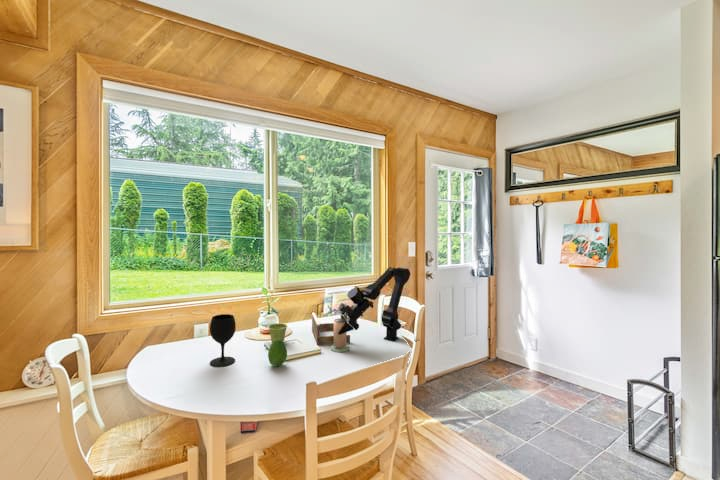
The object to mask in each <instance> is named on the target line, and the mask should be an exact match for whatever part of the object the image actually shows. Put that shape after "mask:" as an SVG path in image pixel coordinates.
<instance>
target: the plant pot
mask: <svg viewBox="0 0 720 480" xmlns="http://www.w3.org/2000/svg"><path fill="white" fill-rule="evenodd" d="M287 328H288V324H285V323H273V324H269V325H268V329H269V333H270V340H271V343H272V342H273V341H274V339H276V338H279V339H281V340H282V341H284V342H285V337H286V331H287Z"/></svg>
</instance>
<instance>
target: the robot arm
mask: <svg viewBox="0 0 720 480" xmlns="http://www.w3.org/2000/svg"><path fill="white" fill-rule="evenodd" d="M410 277H411V271H410V269H409V268H406V267H397V268H396V267H392V266H391V267H390V266H389V267H387V268H386V270H385V271H384V273H382V274H381V275H380V276H379V277H378V278H377V279H376V280H375V281H374V282H373V283H371V284H368V285H367V286H365V287H364V288H363V289H360V288H359V287H358V286H354V287H353V288H352V289H350V290H349V291H347V298H348V299H349V301H351V302H352V303H353V304H354V305H353V304H352V305H351V306H350V305H348V304H345V303H342V302H341V303H340V304H339V307H338V308H337V309H338V310H339V311H340V319H346V320H345V323H344V325H343V327H342V328H341V329H340V331H339V332H338V334H339V335H340V334H343V333H345V332H350V331H354V330H355V331H357V330H359V328H360V324H359V322H358V320H359V318H360V317H361V318H362V317H363V316H364V315H363V314H364V313H365V312H366V311H367V310H368V309H369V308H371V309H374V302H373V301H376V300H377V299H378V297H379V296H380V294H381V290H382V289H383V288H384V287H385V286H386V285H387V284H388V283H389V282H390V281H391V280H392V278H393V279H394V285H393V289H392V293H391V297H390V299H389V304H388V307H387V308H386V310H385V309H384V310H382V315H381V317H380V318H381V322H382V326H383V327H385V328H386V331H385V333H386V336H385V337H383V340H387V341H392V342H396V341H397V340H399V339H400V337H399V336H398V331H399V330H400V329H401V327H402V324H401V322H399V314H398V308H399V305H400V301H401V298H402V293H403V290H404V286H405V285H406V284H407V283H408V281H409V279H410ZM370 300H372V301H370Z"/></svg>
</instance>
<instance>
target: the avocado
mask: <svg viewBox="0 0 720 480" xmlns="http://www.w3.org/2000/svg"><path fill="white" fill-rule="evenodd" d="M284 342H285V341H284ZM284 342H283V341H282V340H281V339H279V338H276V339H274V341H273V342H271V345H269V349H268V352H267V353H268V354H267V358H268V360H269V363H270V364H271V365H272V366H274V367H279V366H282V365H283V364H284V363H285V362H286V360H287V357H288V350H287V347H286V343H284Z"/></svg>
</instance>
